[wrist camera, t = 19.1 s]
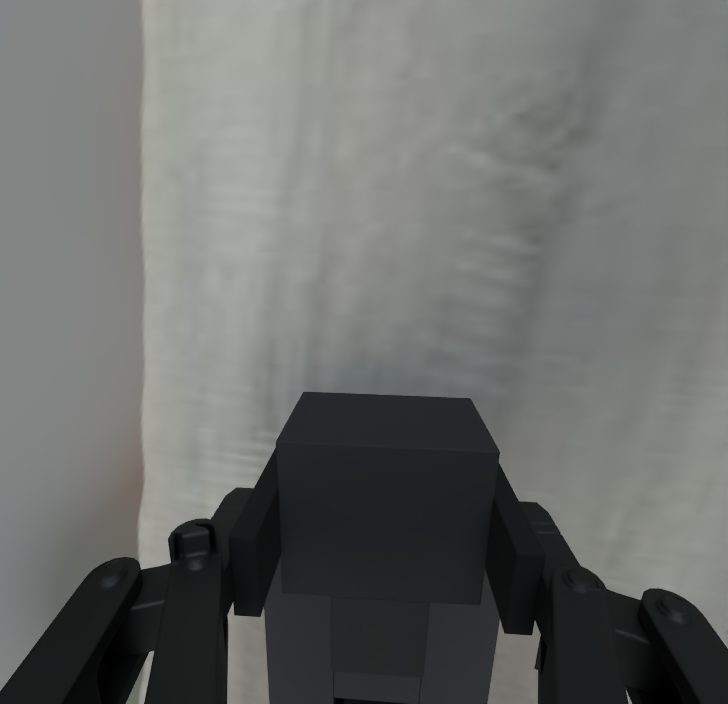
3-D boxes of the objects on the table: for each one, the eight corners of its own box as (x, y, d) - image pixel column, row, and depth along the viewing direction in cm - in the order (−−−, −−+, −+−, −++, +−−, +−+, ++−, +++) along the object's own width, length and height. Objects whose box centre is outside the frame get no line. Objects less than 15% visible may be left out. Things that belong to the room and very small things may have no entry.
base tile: (490, 473, 23) (513, 527, 18) (464, 681, 27) (478, 763, 23) (282, 462, 23) (258, 512, 19) (289, 668, 28) (271, 745, 23)
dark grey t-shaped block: (470, 397, 16) (500, 451, 12) (452, 583, 19) (471, 682, 15) (303, 391, 17) (275, 441, 12) (306, 575, 19) (284, 668, 15)
